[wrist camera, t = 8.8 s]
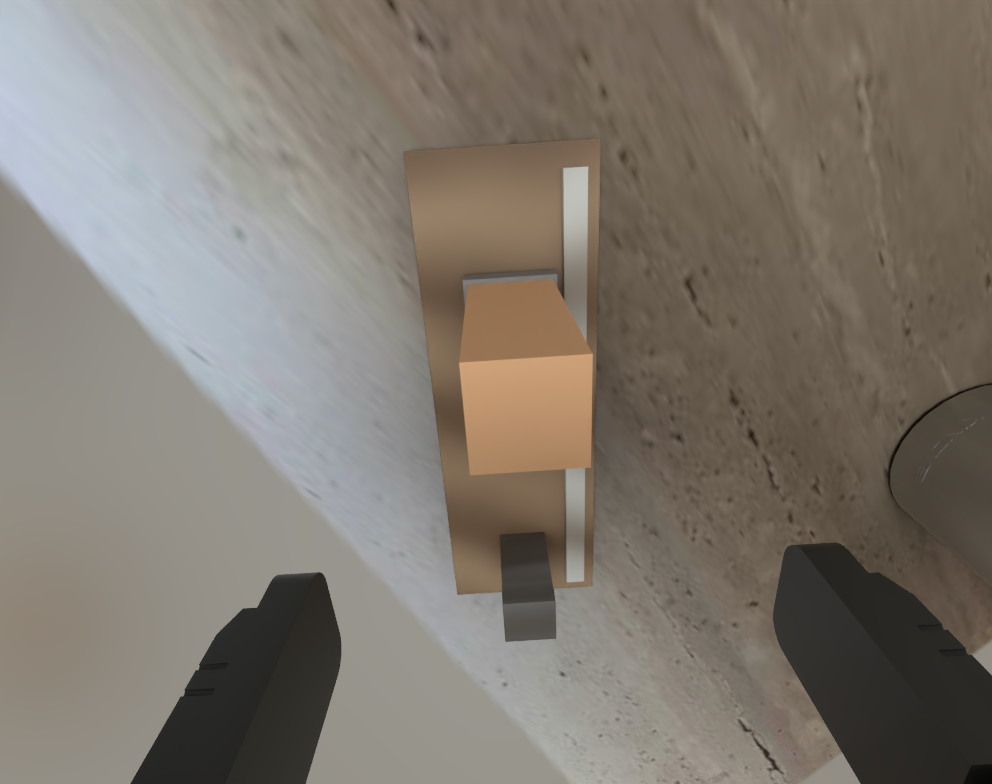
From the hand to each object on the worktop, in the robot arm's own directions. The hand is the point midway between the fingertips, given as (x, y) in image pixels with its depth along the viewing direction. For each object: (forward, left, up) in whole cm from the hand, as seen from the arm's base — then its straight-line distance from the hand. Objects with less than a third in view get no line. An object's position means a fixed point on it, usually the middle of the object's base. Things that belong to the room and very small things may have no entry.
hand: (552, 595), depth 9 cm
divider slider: (0, 0, -16) cm, 16 cm away
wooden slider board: (-2, +4, -18) cm, 19 cm away
